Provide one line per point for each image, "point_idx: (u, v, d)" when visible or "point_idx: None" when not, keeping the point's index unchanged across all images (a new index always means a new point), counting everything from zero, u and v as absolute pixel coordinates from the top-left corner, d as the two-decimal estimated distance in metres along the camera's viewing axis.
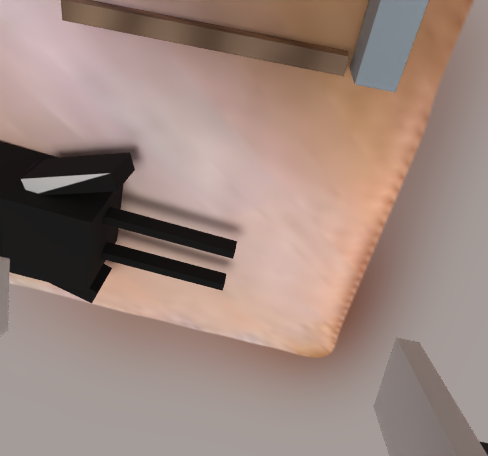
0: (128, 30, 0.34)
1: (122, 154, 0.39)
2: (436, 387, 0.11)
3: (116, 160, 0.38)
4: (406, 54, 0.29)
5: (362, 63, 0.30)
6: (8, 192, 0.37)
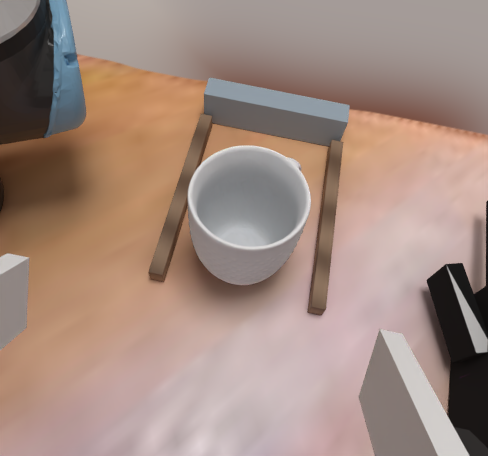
0: (328, 262, 0.46)
1: (429, 284, 0.45)
2: (415, 375, 0.12)
3: (435, 280, 0.44)
4: (329, 102, 0.54)
5: (336, 119, 0.53)
6: None
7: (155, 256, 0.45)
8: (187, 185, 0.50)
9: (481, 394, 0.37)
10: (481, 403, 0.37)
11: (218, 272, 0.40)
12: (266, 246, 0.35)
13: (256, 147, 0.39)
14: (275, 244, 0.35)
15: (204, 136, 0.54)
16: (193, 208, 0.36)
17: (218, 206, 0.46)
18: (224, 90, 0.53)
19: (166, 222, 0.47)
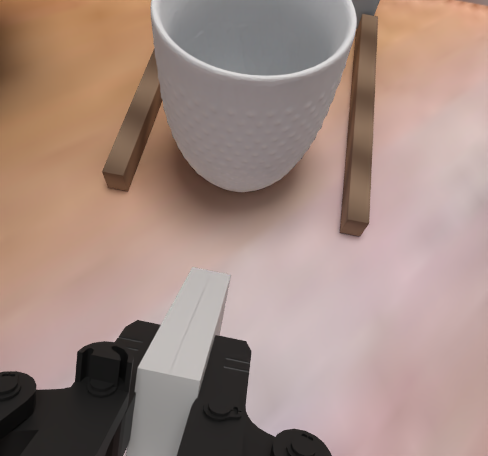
0: (369, 160, 0.32)
1: None
2: (213, 300, 0.14)
3: None
4: None
5: None
6: None
7: (113, 151, 0.30)
8: None
9: None
10: None
11: (206, 156, 0.26)
12: (286, 75, 0.20)
13: None
14: (301, 72, 0.20)
15: None
16: (160, 22, 0.21)
17: None
18: None
19: (131, 108, 0.32)
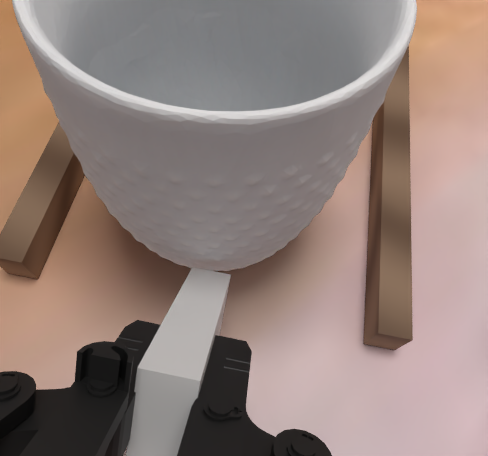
0: (407, 229, 0.21)
1: None
2: (213, 300, 0.14)
3: None
4: None
5: None
6: None
7: (11, 220, 0.20)
8: None
9: None
10: None
11: (148, 235, 0.15)
12: (283, 110, 0.09)
13: None
14: (316, 103, 0.09)
15: None
16: (26, 1, 0.10)
17: (161, 96, 0.20)
18: None
19: (48, 149, 0.22)
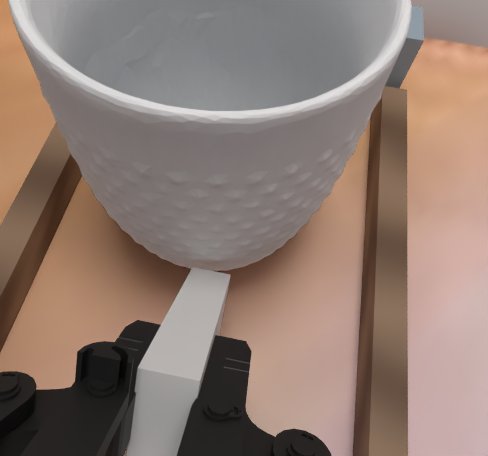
0: (402, 387, 0.17)
1: None
2: (213, 300, 0.14)
3: None
4: None
5: None
6: None
7: None
8: (48, 184, 0.21)
9: None
10: None
11: (148, 237, 0.15)
12: (284, 108, 0.09)
13: None
14: (316, 101, 0.09)
15: None
16: (23, 5, 0.10)
17: (156, 97, 0.20)
18: None
19: None
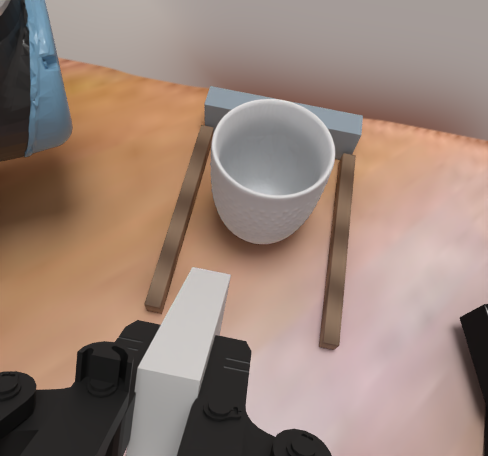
0: (341, 291, 0.42)
1: (463, 322, 0.41)
2: (213, 300, 0.14)
3: (470, 320, 0.40)
4: (340, 112, 0.50)
5: (348, 131, 0.48)
6: None
7: (152, 286, 0.41)
8: (187, 205, 0.46)
9: None
10: None
11: (242, 229, 0.40)
12: (295, 194, 0.34)
13: (276, 100, 0.39)
14: (304, 192, 0.34)
15: (205, 150, 0.49)
16: (218, 161, 0.35)
17: (236, 166, 0.46)
18: (226, 100, 0.49)
19: (164, 247, 0.43)
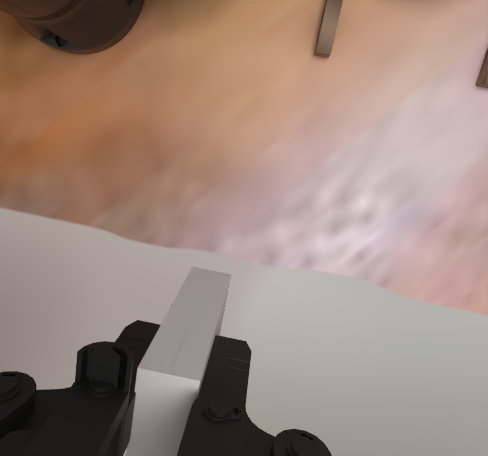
0: None
1: None
2: (213, 300, 0.14)
3: None
4: None
5: None
6: None
7: (322, 33, 0.43)
8: None
9: None
10: None
11: None
12: None
13: None
14: None
15: None
16: None
17: None
18: None
19: None
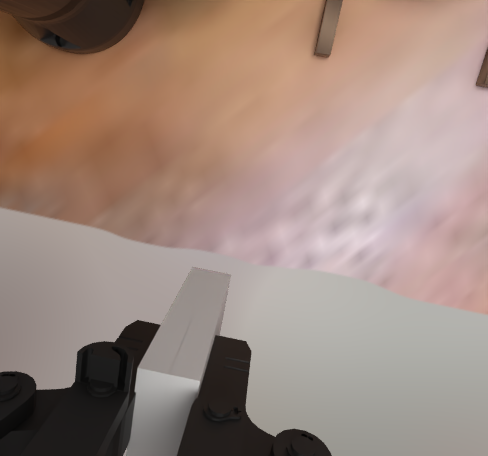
0: None
1: None
2: (213, 300, 0.14)
3: None
4: None
5: None
6: None
7: (322, 33, 0.43)
8: None
9: None
10: None
11: None
12: None
13: None
14: None
15: None
16: None
17: None
18: None
19: None
